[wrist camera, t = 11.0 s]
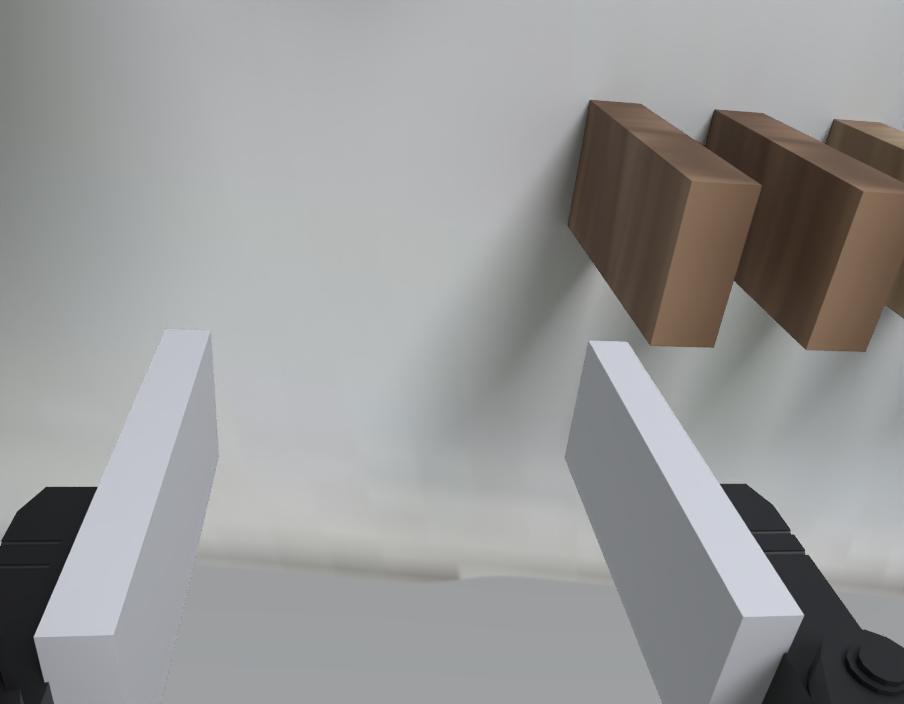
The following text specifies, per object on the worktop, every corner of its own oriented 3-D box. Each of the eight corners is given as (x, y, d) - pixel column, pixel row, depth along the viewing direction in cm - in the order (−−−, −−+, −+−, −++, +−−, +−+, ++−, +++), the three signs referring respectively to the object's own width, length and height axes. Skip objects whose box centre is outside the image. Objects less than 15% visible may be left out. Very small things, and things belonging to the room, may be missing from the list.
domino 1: (567, 226, 32) (650, 345, 23) (590, 100, 29) (691, 181, 21) (614, 228, 32) (713, 347, 23) (640, 103, 29) (761, 185, 21)
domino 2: (683, 232, 32) (806, 350, 24) (715, 109, 30) (863, 191, 21) (728, 234, 33) (865, 351, 24) (762, 113, 30) (929, 195, 22)
